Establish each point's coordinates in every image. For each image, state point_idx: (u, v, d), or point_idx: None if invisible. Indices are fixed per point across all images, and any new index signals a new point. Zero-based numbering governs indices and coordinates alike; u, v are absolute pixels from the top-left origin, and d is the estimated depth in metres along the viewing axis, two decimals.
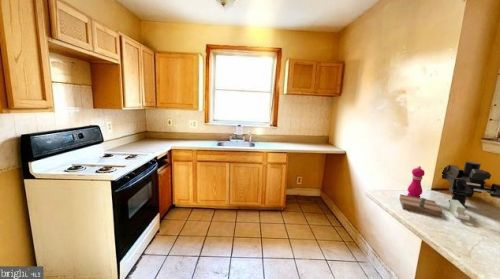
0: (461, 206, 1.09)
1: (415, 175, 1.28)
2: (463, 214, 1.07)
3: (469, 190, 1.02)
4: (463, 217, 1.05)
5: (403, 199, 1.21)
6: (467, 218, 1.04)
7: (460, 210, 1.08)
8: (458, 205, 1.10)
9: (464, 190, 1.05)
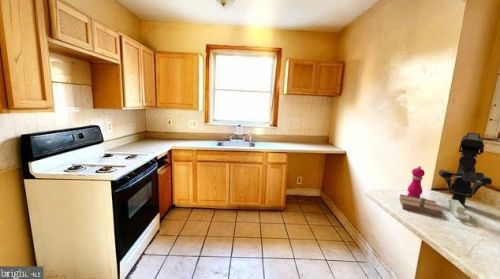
0: (461, 206, 1.09)
1: (415, 175, 1.28)
2: (463, 214, 1.07)
3: None
4: (463, 217, 1.05)
5: (403, 199, 1.21)
6: (467, 218, 1.04)
7: (460, 210, 1.08)
8: (458, 205, 1.10)
9: (446, 182, 1.14)
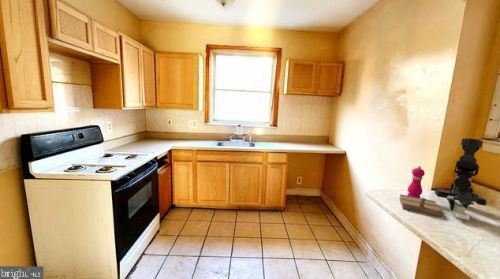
0: (461, 206, 1.09)
1: (415, 175, 1.28)
2: (463, 214, 1.07)
3: (450, 208, 1.14)
4: (463, 217, 1.05)
5: (403, 199, 1.21)
6: (467, 218, 1.04)
7: (460, 210, 1.08)
8: (458, 205, 1.10)
9: (449, 202, 1.15)
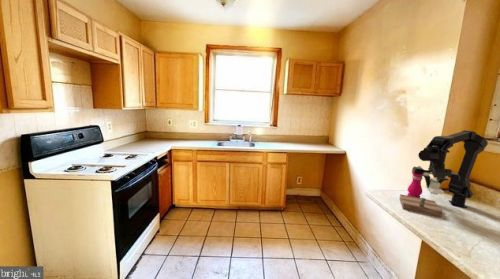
0: (436, 182, 1.12)
1: (415, 175, 1.28)
2: (438, 189, 1.10)
3: (427, 185, 1.17)
4: (438, 191, 1.08)
5: (403, 199, 1.21)
6: (441, 192, 1.07)
7: (435, 186, 1.11)
8: (434, 181, 1.13)
9: (425, 180, 1.18)
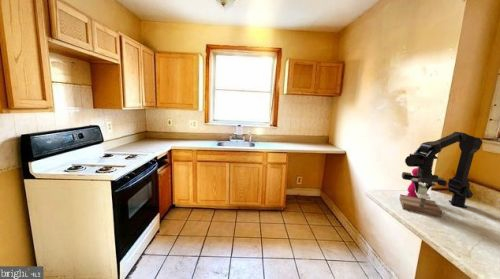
0: (424, 187, 1.15)
1: (415, 175, 1.28)
2: (425, 194, 1.14)
3: None
4: (424, 197, 1.11)
5: (403, 199, 1.21)
6: (428, 198, 1.10)
7: (423, 191, 1.14)
8: (421, 186, 1.16)
9: (414, 185, 1.21)
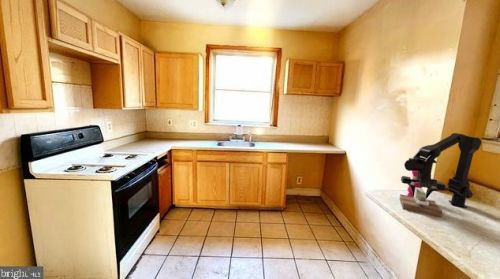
0: (423, 193, 1.16)
1: (415, 175, 1.28)
2: None
3: (412, 194, 1.21)
4: (423, 203, 1.11)
5: (403, 199, 1.21)
6: (427, 204, 1.11)
7: (422, 197, 1.15)
8: (420, 192, 1.17)
9: (411, 188, 1.22)
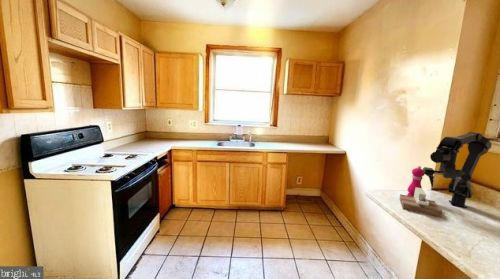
0: (423, 193, 1.16)
1: (415, 175, 1.28)
2: None
3: (431, 185, 1.19)
4: (423, 203, 1.11)
5: (403, 199, 1.21)
6: (427, 204, 1.11)
7: (422, 197, 1.15)
8: (420, 192, 1.17)
9: None
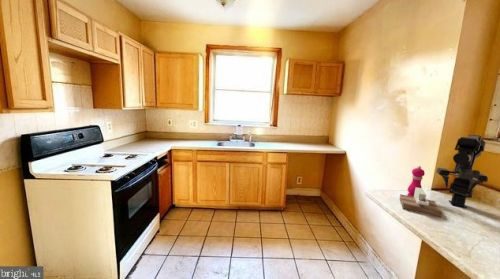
0: (423, 193, 1.16)
1: (415, 175, 1.28)
2: None
3: (445, 185, 1.17)
4: (423, 203, 1.11)
5: (403, 199, 1.21)
6: (427, 204, 1.11)
7: (422, 197, 1.15)
8: (420, 192, 1.17)
9: None
